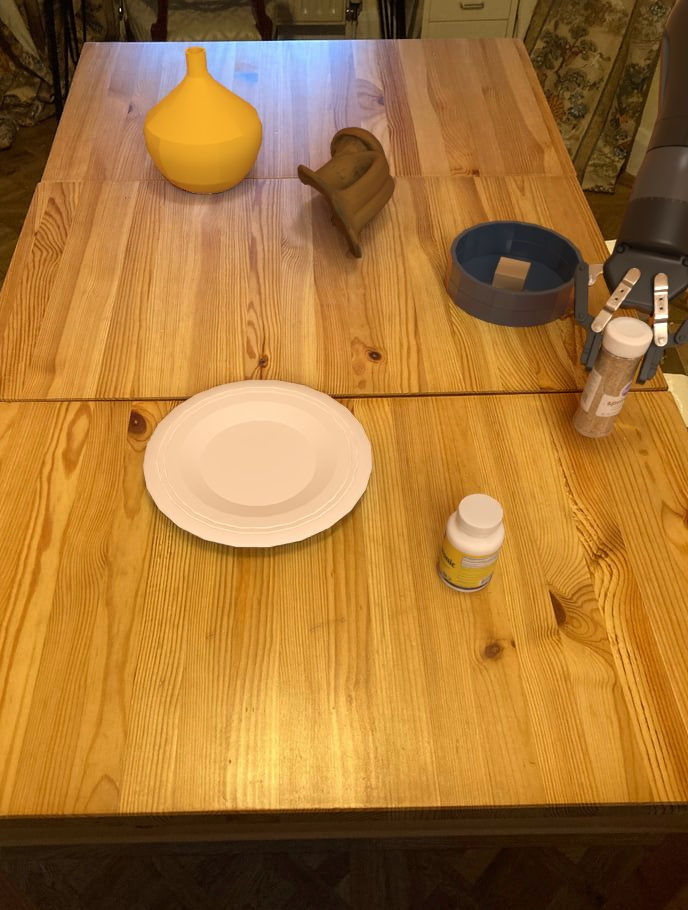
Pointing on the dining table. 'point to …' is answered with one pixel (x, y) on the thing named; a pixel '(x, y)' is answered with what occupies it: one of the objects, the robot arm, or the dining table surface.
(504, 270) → the block
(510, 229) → the bowl
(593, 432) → the sprinkles bottle
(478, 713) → the dining table surface
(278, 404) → the plate
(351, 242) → the brown looped sculpture
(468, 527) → the supplement bottle
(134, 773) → the dining table surface
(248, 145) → the vase
